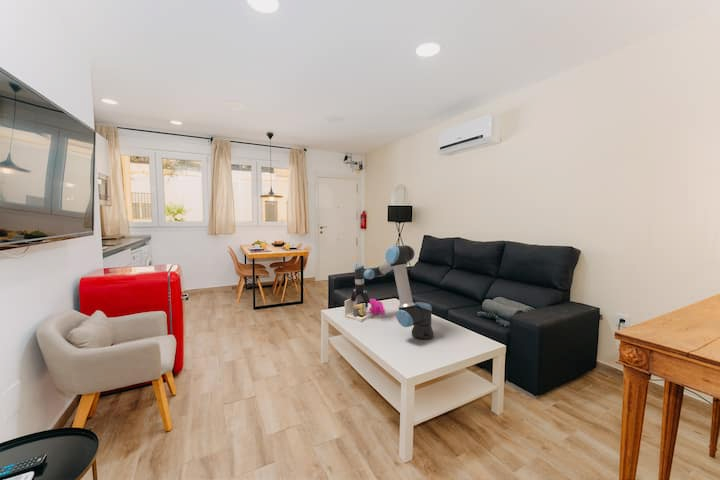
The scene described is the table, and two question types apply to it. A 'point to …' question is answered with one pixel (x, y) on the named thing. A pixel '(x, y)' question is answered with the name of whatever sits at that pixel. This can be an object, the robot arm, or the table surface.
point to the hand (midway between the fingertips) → (360, 310)
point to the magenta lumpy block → (376, 307)
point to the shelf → (355, 311)
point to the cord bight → (360, 308)
